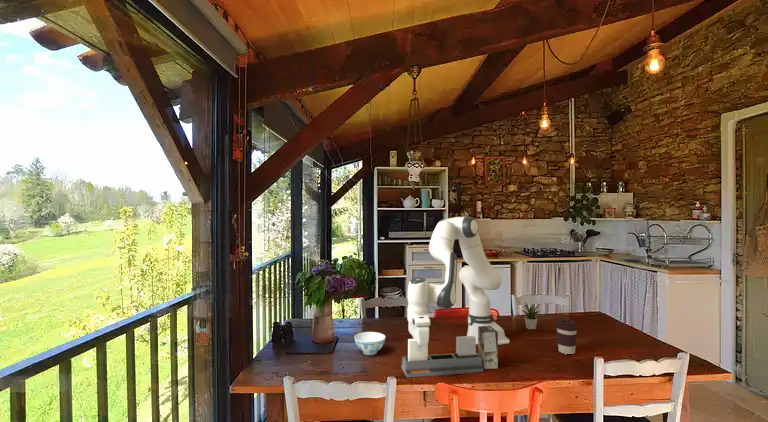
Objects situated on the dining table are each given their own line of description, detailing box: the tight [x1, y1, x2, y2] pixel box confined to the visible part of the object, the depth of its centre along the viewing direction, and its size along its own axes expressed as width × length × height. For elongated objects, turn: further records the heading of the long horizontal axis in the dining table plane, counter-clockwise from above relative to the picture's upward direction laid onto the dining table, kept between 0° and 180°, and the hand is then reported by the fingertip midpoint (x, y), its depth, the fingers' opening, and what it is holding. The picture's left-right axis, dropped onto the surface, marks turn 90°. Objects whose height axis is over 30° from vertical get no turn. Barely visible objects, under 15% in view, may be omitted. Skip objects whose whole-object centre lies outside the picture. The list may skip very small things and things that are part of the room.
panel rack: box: [400, 335, 484, 378], centre depth 163 cm, size 34×10×14 cm, turn 100°
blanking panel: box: [407, 338, 429, 361], centre depth 162 cm, size 8×2×12 cm, turn 100°
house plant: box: [521, 301, 542, 330], centre depth 224 cm, size 14×14×16 cm
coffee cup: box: [555, 319, 579, 355], centre depth 185 cm, size 10×10×15 cm
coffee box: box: [477, 326, 499, 370], centre depth 169 cm, size 9×6×16 cm
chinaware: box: [354, 331, 386, 356], centre depth 183 cm, size 15×15×8 cm
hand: (417, 348), depth 162 cm, fingers open, 4 cm apart
